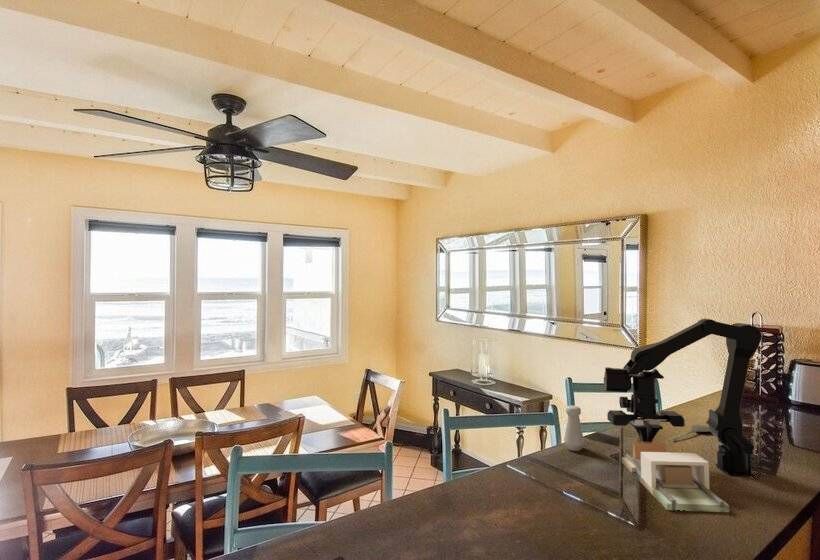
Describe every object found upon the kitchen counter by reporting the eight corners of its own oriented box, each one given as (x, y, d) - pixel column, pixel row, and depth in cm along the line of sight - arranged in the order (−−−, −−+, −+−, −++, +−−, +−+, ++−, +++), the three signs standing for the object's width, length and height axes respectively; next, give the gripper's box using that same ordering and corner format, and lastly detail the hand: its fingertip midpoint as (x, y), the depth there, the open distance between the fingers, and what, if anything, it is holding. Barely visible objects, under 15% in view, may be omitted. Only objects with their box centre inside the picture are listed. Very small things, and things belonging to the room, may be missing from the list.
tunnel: (695, 478, 110) (694, 452, 110) (709, 489, 104) (708, 462, 104) (641, 477, 111) (640, 451, 111) (651, 487, 105) (651, 461, 105)
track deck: (670, 463, 122) (670, 455, 122) (729, 512, 96) (729, 501, 96) (621, 462, 124) (621, 454, 124) (666, 510, 97) (666, 499, 97)
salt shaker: (585, 452, 131) (584, 409, 132) (565, 451, 133) (564, 408, 133) (582, 445, 137) (581, 404, 137) (563, 444, 138) (562, 403, 138)
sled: (663, 459, 121) (662, 442, 121) (698, 488, 104) (697, 468, 104) (633, 458, 122) (632, 441, 122) (662, 487, 105) (662, 467, 105)
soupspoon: (719, 436, 147) (699, 431, 153) (719, 425, 147) (698, 421, 153) (681, 445, 137) (660, 440, 143) (680, 434, 137) (660, 430, 143)
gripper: (665, 387, 130) (667, 439, 130) (600, 386, 132) (601, 438, 132) (685, 396, 119) (686, 453, 119) (613, 395, 121) (615, 452, 121)
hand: (645, 448), depth 123 cm, fingers closed
